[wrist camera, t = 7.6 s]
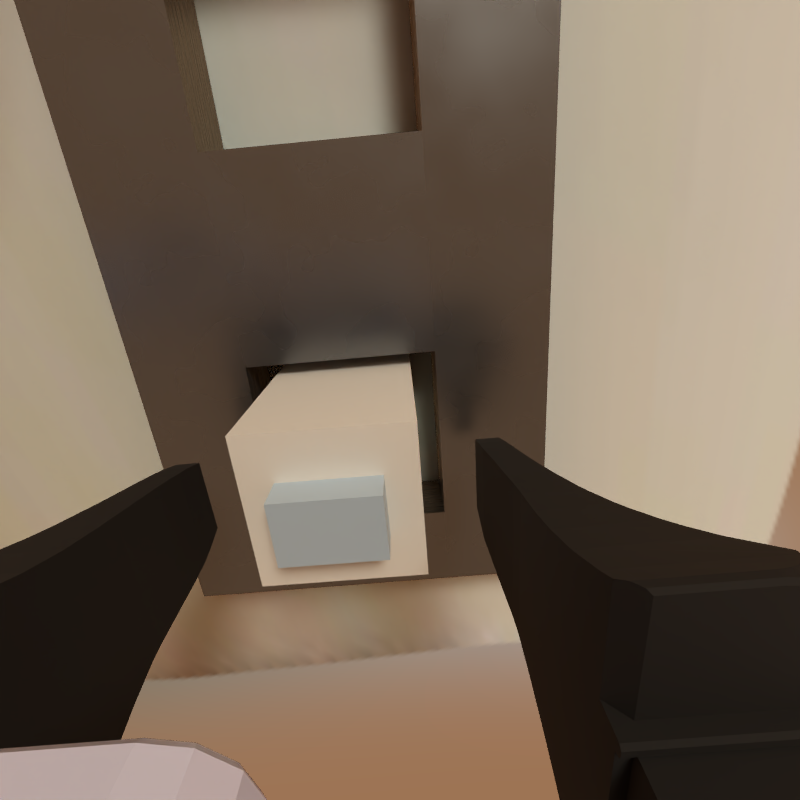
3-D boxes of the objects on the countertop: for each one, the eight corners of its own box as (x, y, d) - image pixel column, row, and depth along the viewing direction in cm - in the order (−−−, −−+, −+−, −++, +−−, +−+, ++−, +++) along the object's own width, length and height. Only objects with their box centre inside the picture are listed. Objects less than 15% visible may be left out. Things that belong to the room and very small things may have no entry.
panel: (224, 557, 18) (204, 595, 16) (-5, -242, 10) (-100, -356, 8) (524, 533, 17) (540, 569, 15) (540, -304, 9) (576, -437, 8)
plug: (308, 463, 16) (252, 613, 10) (289, 358, 15) (209, 454, 8) (416, 455, 16) (431, 600, 10) (408, 348, 15) (419, 438, 8)
